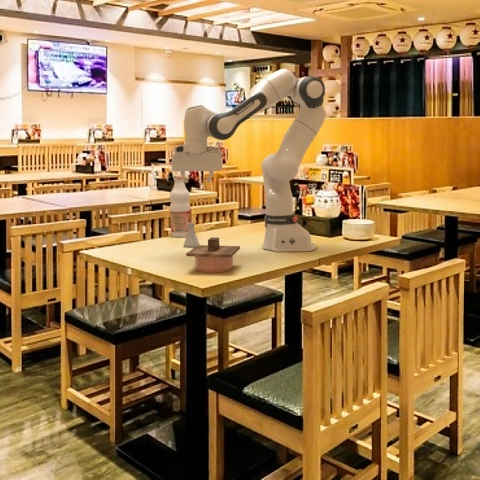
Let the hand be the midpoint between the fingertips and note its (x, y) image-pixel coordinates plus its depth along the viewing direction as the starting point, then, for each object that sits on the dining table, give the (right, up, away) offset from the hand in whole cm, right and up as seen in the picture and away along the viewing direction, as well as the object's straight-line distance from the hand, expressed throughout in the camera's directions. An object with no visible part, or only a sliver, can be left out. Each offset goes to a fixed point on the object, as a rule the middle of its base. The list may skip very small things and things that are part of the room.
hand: (197, 182), depth 261 cm
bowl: (+8, -33, -25) cm, 43 cm away
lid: (+8, -27, -26) cm, 39 cm away
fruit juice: (-11, -21, +47) cm, 52 cm away
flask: (-4, -26, +20) cm, 33 cm away
